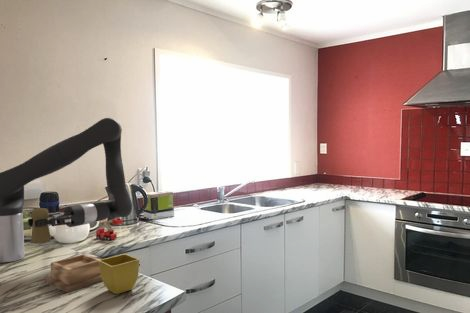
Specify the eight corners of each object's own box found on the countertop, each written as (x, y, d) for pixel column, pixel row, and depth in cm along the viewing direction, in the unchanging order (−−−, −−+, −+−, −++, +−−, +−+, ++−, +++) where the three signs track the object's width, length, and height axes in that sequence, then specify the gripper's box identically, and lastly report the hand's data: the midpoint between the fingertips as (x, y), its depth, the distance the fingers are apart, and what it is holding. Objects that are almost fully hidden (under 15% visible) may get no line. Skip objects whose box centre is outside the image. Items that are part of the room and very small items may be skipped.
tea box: (166, 214, 226) (165, 190, 226) (174, 216, 218) (173, 191, 218) (143, 217, 216) (142, 192, 216) (151, 220, 209) (150, 194, 208)
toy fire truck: (100, 236, 172) (99, 216, 172) (123, 239, 166) (122, 218, 166) (94, 238, 169) (94, 217, 168) (118, 241, 163) (117, 219, 163)
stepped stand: (44, 282, 114) (43, 263, 114) (86, 269, 125) (85, 252, 125) (67, 292, 106) (66, 272, 106) (110, 278, 117) (109, 259, 117)
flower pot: (98, 290, 107) (97, 259, 107) (126, 282, 113) (125, 253, 113) (112, 299, 101) (111, 266, 100) (141, 289, 107) (140, 259, 107)
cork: (54, 238, 127) (53, 206, 126) (45, 243, 121) (44, 209, 120) (36, 238, 126) (35, 207, 126) (27, 243, 120) (25, 210, 120)
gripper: (70, 202, 139) (21, 209, 125) (91, 206, 130) (40, 214, 116) (70, 222, 139) (22, 231, 125) (91, 227, 130) (41, 237, 117)
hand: (31, 223), depth 121 cm, fingers closed on cork, 4 cm apart
